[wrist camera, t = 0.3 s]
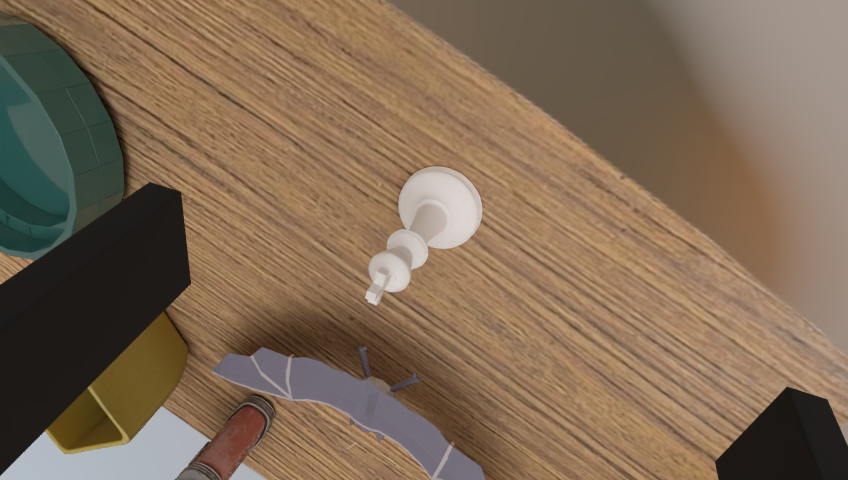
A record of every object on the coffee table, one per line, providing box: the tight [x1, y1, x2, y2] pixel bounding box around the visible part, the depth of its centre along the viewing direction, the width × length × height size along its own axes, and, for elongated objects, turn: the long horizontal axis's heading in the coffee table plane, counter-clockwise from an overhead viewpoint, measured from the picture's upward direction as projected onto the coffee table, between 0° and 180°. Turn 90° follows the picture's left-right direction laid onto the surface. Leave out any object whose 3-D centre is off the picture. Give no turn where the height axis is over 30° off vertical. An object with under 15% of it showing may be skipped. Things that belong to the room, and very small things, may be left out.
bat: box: [211, 346, 486, 480], centre depth 35 cm, size 26×6×10 cm
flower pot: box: [45, 311, 188, 454], centre depth 40 cm, size 9×9×9 cm
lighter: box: [175, 396, 275, 480], centre depth 41 cm, size 8×3×10 cm, turn 146°
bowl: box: [0, 12, 124, 260], centre depth 37 cm, size 16×16×4 cm
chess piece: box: [365, 166, 482, 306], centre depth 26 cm, size 5×5×10 cm
